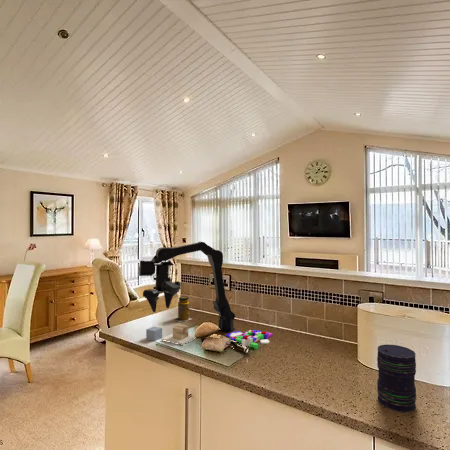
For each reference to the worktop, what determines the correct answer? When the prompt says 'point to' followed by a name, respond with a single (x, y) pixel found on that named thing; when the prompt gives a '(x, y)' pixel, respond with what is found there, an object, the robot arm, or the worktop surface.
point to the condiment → (183, 309)
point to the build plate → (179, 341)
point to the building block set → (250, 337)
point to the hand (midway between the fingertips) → (161, 310)
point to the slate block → (154, 333)
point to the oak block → (180, 331)
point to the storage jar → (396, 378)
